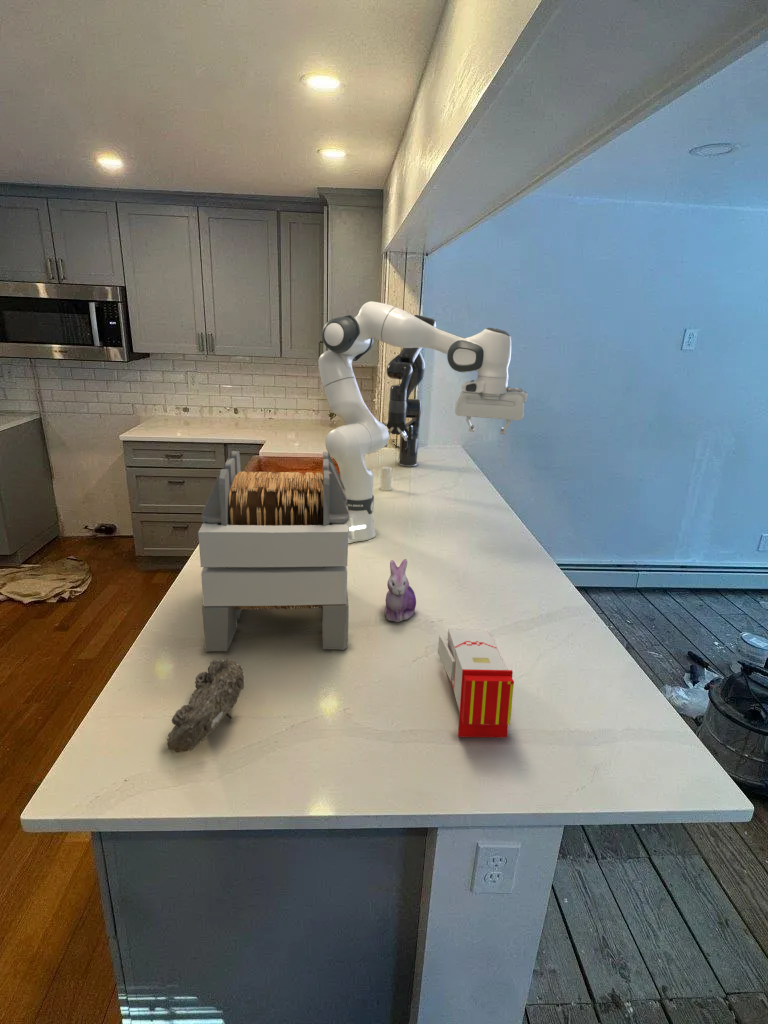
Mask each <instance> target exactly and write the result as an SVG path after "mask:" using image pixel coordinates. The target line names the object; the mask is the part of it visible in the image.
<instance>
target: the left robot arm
mask: <svg viewBox="0 0 768 1024" xmlns="http://www.w3.org/2000/svg"><path fill="white" fill-rule="evenodd" d="M414 315H415V314H412V313H410V312H408V311H406V310H404V309H402V308H400V307H396V306H395V305H391V304H388V303H384V302H379V301H372V300H371V301H367V302H365V303H363V305H362V306H361V307H360V309H359V311H358V312H357V315H355V316H353V315H351V314H348V315H343V316H339V317H333V318H331V319H329V320H328V321H326V323H324V325H323V327H322V330H321V339H322V342H323V344H324V346H325V347H326V348H327V349H328V350H325V351H324V352H323V353H321V354H320V356H319V357H318V360H317V365H318V372H319V377H320V381H321V384H322V388H323V391H324V393H325V394H324V395H325V397H326V400H327V403H328V406H329V409H330V411H331V413H333V414H334V415H336V416H338V417H339V418H340V419H341V420H342V422H343V423H344V425H339V426H338V427H335V428H334V429H332V430H330V431H329V432H328V433H327V434H326V436H325V441H324V443H325V449H326V452H329V455H330V457H331V459H332V458H333V459H334V461H335V462H336V465H337V466H338V467H337V468H338V470H339V476H340V478H341V480H342V483H343V485H344V487H345V489H346V496H347V501H348V509H349V520H348V521H347V526H348V544H352V543H357V542H365V541H368V540H372V539H373V538H375V537H376V535H377V532H376V528H375V523H374V513H373V512H374V509H375V496H374V473H373V471H372V470H371V469H369V468H368V467H367V464H366V461H365V457H366V456H367V455H371V454H374V453H377V452H378V451H381V450H382V449H384V448H386V447H385V446H386V444H387V445H388V443H389V439H390V434H389V433H388V431H389V429H388V428H387V426H385V425H384V424H383V423H382V422H381V421H380V420H378V419H377V418H376V417H375V416H374V414H373V413H372V412H371V410H370V409H369V407H368V406H367V404H366V402H365V401H364V398H363V396H362V393H361V390H360V387H359V384H358V380H357V378H356V376H355V372H354V369H353V362H357V361H358V360H359V359H360V358H362V357H363V356H364V355H365V354H367V353H369V351H370V350H371V349H372V347H373V346H374V343H375V340H377V341H379V342H382V343H384V344H387V345H390V346H392V347H395V348H396V347H397V348H401V349H403V348H423V349H431V350H434V351H437V352H440V353H442V354H446V355H447V356H446V359H447V363H448V365H449V367H450V368H451V369H452V370H454V371H455V372H458V373H462V374H463V373H464V374H465V373H471V372H477V378H476V379H472V380H468V381H465V382H463V383H462V384H461V391H460V393H459V394H458V397H457V399H456V404H455V409H454V413H455V415H456V416H457V417H465V421H466V423H467V425H468V432H471V433H474V432H475V425H474V424H472V423H471V420H472V418H482V419H494V420H505V425H504V426H503V427H502V426H501V427H500V435H506V433H507V429H508V427H509V426H510V425H511V421H519V422H520V421H522V420H523V418H524V415H525V413H524V412H525V404H526V402H527V401H528V393H527V391H526V390H524V389H523V388H521V387H518V388H516V387H509V386H508V382H509V366H510V362H511V357H512V337H511V335H510V334H509V332H508V331H506V330H504V329H499V328H494V327H486V328H484V329H483V330H481V331H480V332H479V333H476V334H473V335H471V336H469V337H463V336H459V335H457V334H454V333H451V332H449V331H446V330H443V329H440V328H438V327H436V328H435V327H433V326H431V325H430V324H428V323H426V322H424V321H422V320H421V319H419V318H417V317H415V316H414Z"/></svg>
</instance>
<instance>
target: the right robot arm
mask: <svg viewBox="0 0 768 1024" xmlns="http://www.w3.org/2000/svg"><path fill="white" fill-rule="evenodd" d="M413 315H414V316H415V317H417V318H419V319H421V320H422V321H424V322H426V323H428V324H430V325H431V326H433V327H435V328H437V321H436V319H435V318H432V317H428V316H424V315H419V314H413ZM423 349H424V348H401V350H400V352H399V354H397V355H396V356H395V357H394V358H392V359H391V360H390V361H389V362H388V364H387V366H386V375H387V377H388V378H390V379H392V380H400V383H398V384H393V385H390V389H389V402H388V413H387V422H384V421H382V422H381V423H383V424H384V425H385V426H386V428H387V430H388V433H389V435H390V434H391V435H397V436H399V445H398V446H396V445H397V444H396V445H395V444H393V445H394V446H395V447H396V448H398V449H399V450H398V451H399V452H398V453H399V454H398V459H397V461H398V463H397V464H398V465H399V466H401V467H407V468H410V467H413V468H414V467H417V466H418V451H419V437H420V435H419V434H420V425H421V424H420V423H421V415H422V414H421V413H422V402H421V400H420V399H418V398H410V396H411V394H412V392H414V390H415V389H416V388H417V387H418V386H419V385H420V384H421V382H422V381H423V379H424V376H425V371H426V361H425V359H424V356H423V354H422V350H423ZM407 419H411V420H409V421H408V422H407ZM387 447H388V443H387V444H386V446H385V447H384V448H387Z"/></svg>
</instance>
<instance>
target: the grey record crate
mask: <svg viewBox="0 0 768 1024" xmlns="http://www.w3.org/2000/svg"><path fill="white" fill-rule="evenodd" d="M241 468H242V467H241V455H240V450H231V452H230V454H229V457H227V458H226V461H225V464H224V465H223V468H221V469H220V471H219V473H218V475H217V478H216V480H215V482H214V484H213V487H212V489H211V491H210V494H209V496H208V498H207V500H206V503H205V505H204V507H203V509H202V511H201V522H202V524H201V526H200V528H199V529H198V532H197V535H198V544H199V545H198V547H199V548H198V550H199V562H200V568H202V570H201V573H200V574H201V575H200V576H201V587H202V588H201V589H202V602H203V603H202V605H201V608H202V609H201V610H202V611H201V614H202V623H203V633H204V646H205V648H204V651H205V652H206V653H211V652H228V650H229V648H230V645H231V643H232V640H233V638H234V636H235V633H236V631H237V627H238V625H237V620H240V617H241V613H242V610H261V609H262V610H272V609H273V610H274V609H275V610H280V609H281V610H289V609H292V610H293V609H295V610H296V609H308V610H309V609H321V612H322V613H321V615H322V625H321V626H322V627H321V629H322V650H342V651H344V650H346V649H347V648H349V613H350V612H349V611H350V608H349V607H350V606H349V605H350V603H349V595H348V594H349V593H348V556H349V555H348V553H349V552H348V551H349V543H348V526H347V521H348V520H349V509H348V501H347V496H346V489H345V487H344V485H343V483H342V480H341V478H340V473H339V472H338V470H337V468H336V466H335V463H334V461H333V459H332V457H331V456H330V455H329V452H327V451H322V472H315V473H314V472H312V471H307V472H305V473H304V472H302V473H301V471H300V472H299V471H279V472H273V471H269V472H267V471H242V469H241Z"/></svg>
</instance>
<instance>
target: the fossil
mask: <svg viewBox="0 0 768 1024" xmlns="http://www.w3.org/2000/svg"><path fill="white" fill-rule="evenodd" d="M243 670H244V669H243V667H242V665H240V664H237V662H236V661H235V660H234V659H232V658H231V659H227V658H226V659H224V660H223V661H222V660H217V659H212V660H211V661H210V663H209V665H208V666H207V671H201V672H199V673H198V674H197V675H196V676H195V680H194V684H195V685H194V687H195V689H194V690H193V693H192V694H191V697H190V698H189V700H188V704H184V705H182V706H181V707H180V709H177V710H176V711H175V713H174V715H173V716H172V718H171V723H172V724H173V727H172V730H171V731H170V732H168V734H167V738H166V741H167V742H166V745H167V749H168V750H169V751H173V752H174V753H176V754H178V753H182V752H188V751H189V752H192V751H193V750H195V748H196V747H197V746H199V744H200V743H201V742H203V741H204V740H205V739H206V738H207V737H208V736H209V735H210V734H211V733H212V732H214V730H215V729H217V727H218V726H219V724H220V722H221V721H222V720H223V719H224V718H225V716H226V717H227V719H229V720H233V717H232V715H230V714H229V710H230V709H231V708H234V706H235V704H236V703H237V702H238V699H239V697H240V695H241V693H242V691H243V690H245V689H244V688H245V675H244V671H243Z"/></svg>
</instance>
